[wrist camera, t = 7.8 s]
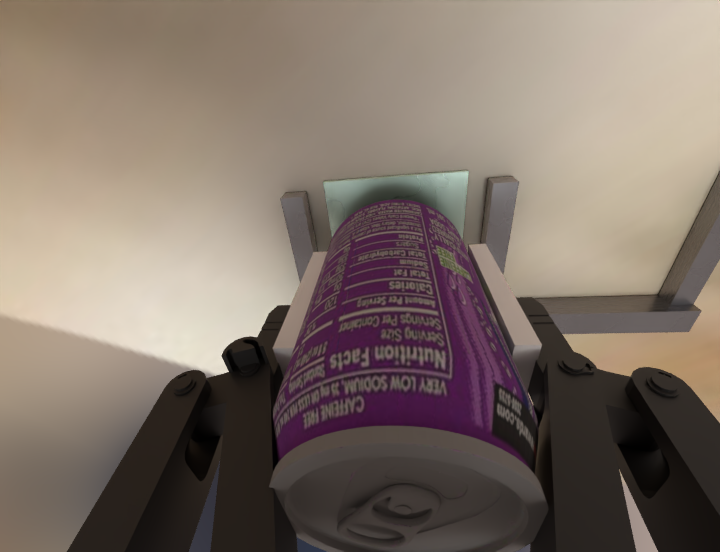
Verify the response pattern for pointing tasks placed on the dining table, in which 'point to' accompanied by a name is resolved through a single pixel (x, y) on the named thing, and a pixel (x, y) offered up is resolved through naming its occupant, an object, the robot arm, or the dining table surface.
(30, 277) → the dining table surface
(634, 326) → the grey flat frame
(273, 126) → the dining table surface
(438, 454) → the beverage can
